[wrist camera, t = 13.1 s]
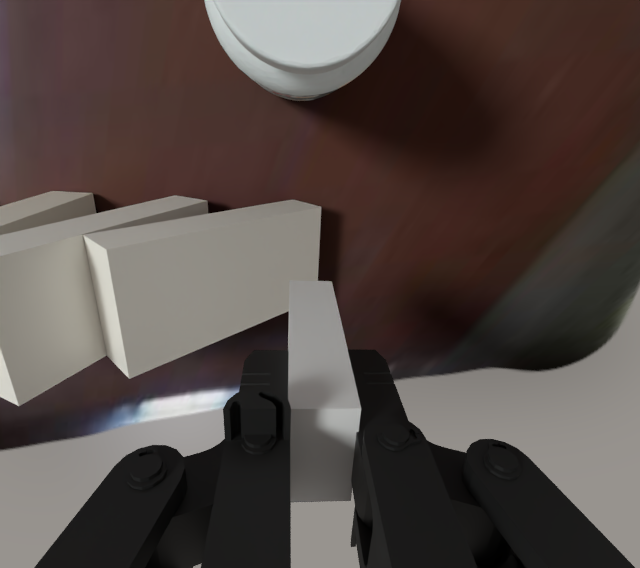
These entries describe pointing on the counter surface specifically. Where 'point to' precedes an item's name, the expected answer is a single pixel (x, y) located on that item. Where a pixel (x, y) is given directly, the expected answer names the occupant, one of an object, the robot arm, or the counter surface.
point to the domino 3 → (198, 278)
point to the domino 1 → (45, 210)
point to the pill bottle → (302, 41)
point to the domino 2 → (60, 296)
